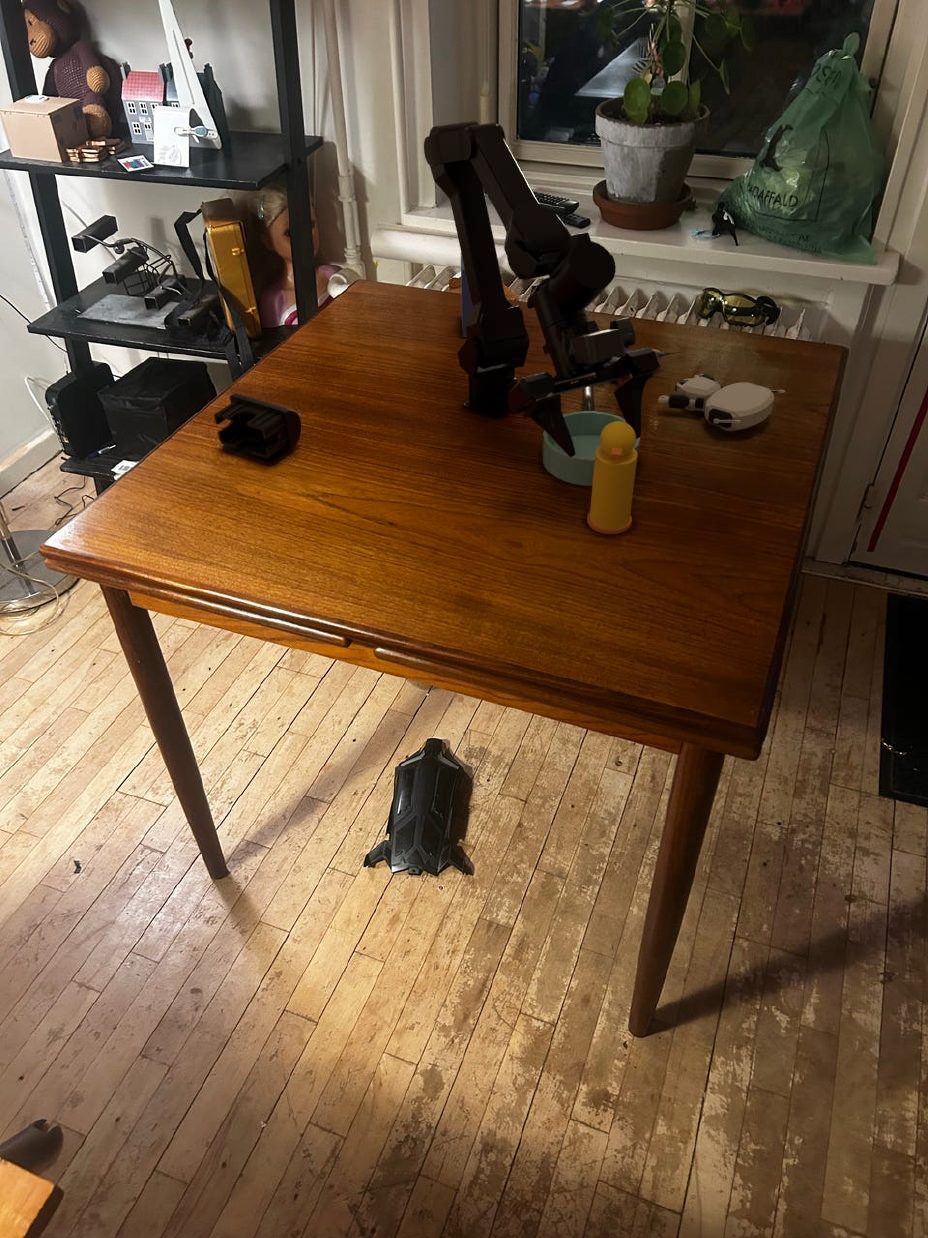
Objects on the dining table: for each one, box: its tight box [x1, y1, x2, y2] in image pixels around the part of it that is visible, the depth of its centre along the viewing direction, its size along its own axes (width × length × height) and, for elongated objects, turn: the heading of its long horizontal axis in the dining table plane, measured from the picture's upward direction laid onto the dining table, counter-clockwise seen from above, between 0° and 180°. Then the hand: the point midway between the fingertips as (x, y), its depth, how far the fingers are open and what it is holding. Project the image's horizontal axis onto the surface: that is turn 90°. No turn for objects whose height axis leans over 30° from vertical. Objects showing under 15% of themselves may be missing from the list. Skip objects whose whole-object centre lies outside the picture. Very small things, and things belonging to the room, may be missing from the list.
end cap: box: [213, 393, 302, 467], centre depth 130 cm, size 10×7×7 cm
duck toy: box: [586, 421, 638, 535], centre depth 113 cm, size 6×6×14 cm
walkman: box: [460, 253, 472, 338], centre depth 158 cm, size 8×3×12 cm, turn 1°
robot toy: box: [657, 373, 786, 432], centre depth 136 cm, size 12×4×15 cm
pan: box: [541, 410, 641, 487], centre depth 127 cm, size 13×13×4 cm
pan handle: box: [581, 386, 596, 412], centre depth 135 cm, size 10×2×2 cm, turn 176°
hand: (605, 446), depth 113 cm, fingers open, 9 cm apart
